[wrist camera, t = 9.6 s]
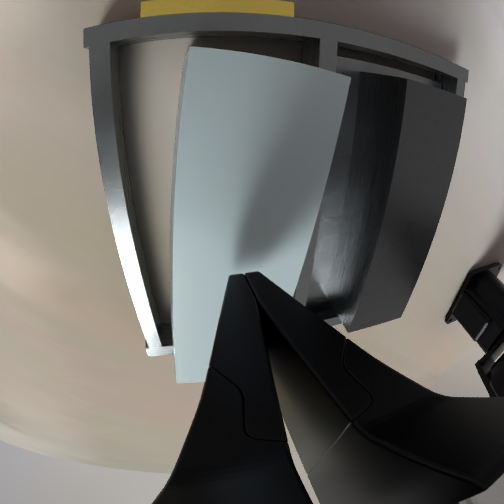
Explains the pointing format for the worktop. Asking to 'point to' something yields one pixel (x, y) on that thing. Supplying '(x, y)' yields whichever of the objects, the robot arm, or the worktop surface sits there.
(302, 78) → the panel
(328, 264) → the rack
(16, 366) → the worktop surface
